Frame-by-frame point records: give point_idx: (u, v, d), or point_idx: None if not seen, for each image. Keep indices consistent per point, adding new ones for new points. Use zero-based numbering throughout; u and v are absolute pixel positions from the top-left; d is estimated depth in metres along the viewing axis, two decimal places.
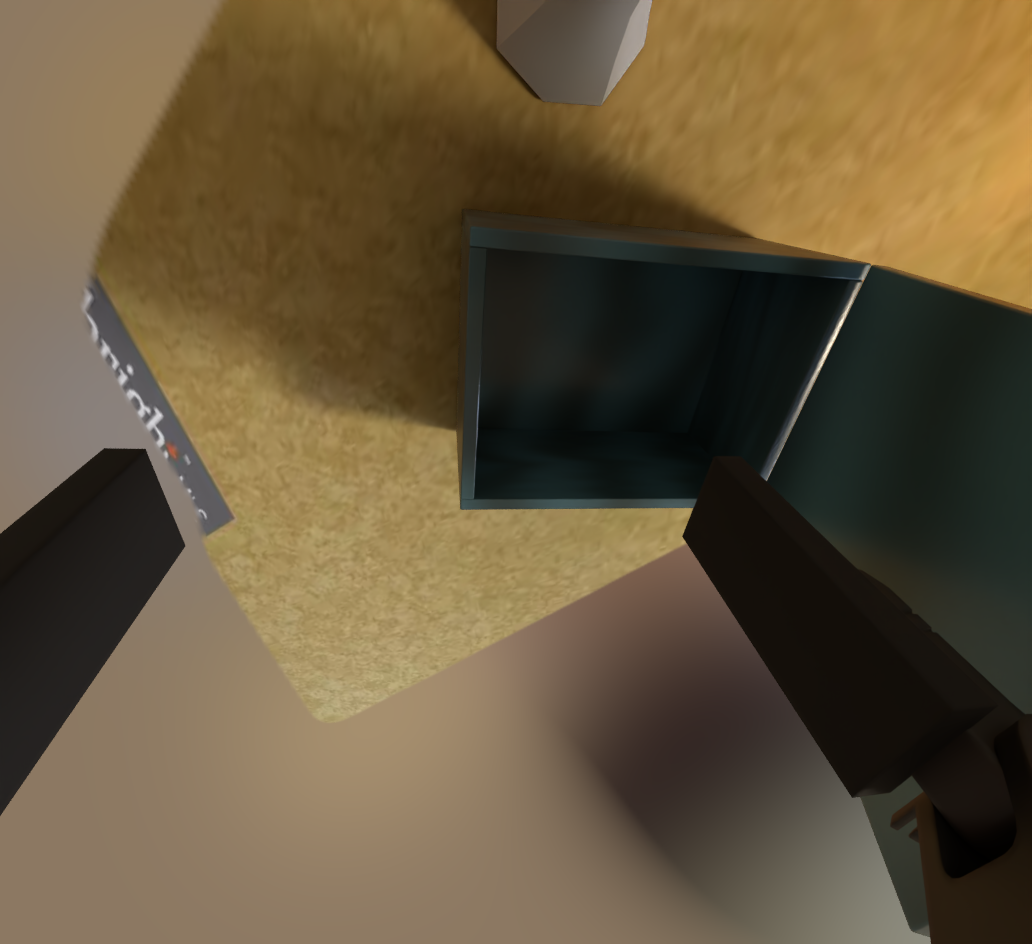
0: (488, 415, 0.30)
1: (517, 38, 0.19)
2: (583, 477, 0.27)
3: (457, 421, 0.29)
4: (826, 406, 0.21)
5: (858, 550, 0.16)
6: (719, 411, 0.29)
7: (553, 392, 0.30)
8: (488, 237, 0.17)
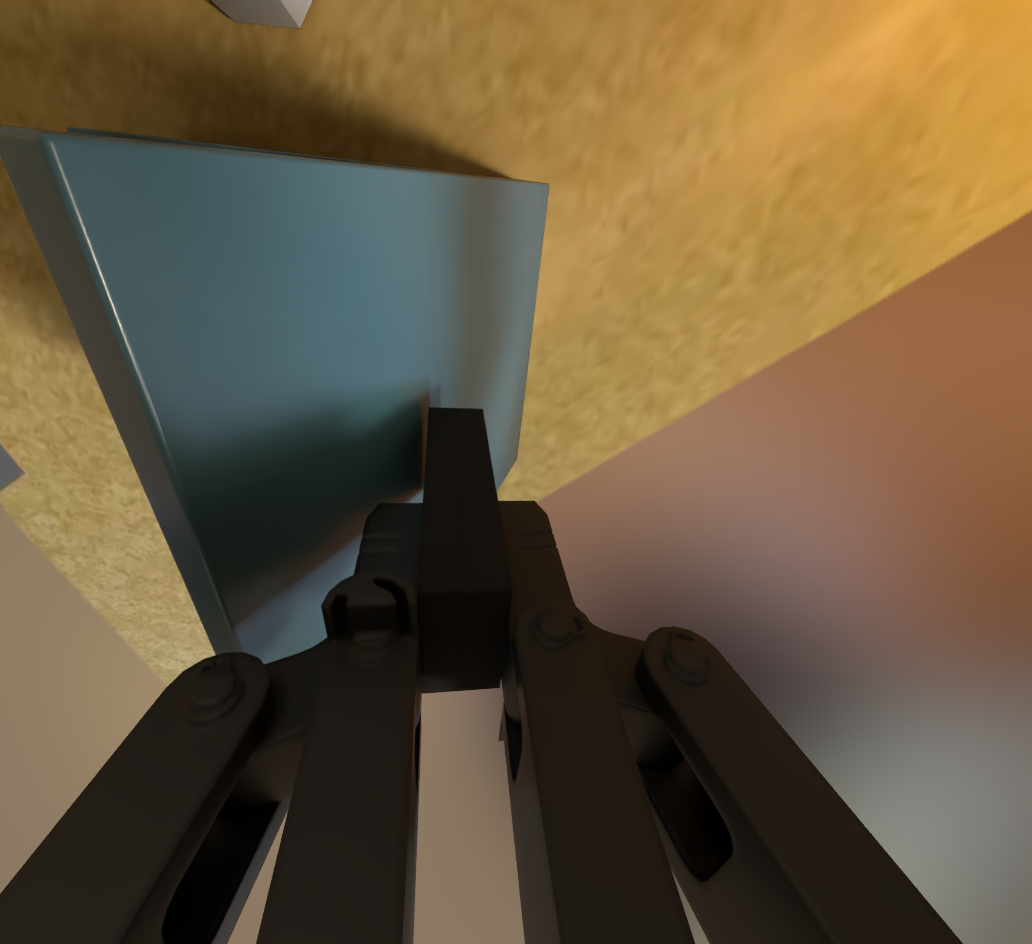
0: None
1: None
2: None
3: None
4: None
5: None
6: None
7: None
8: None
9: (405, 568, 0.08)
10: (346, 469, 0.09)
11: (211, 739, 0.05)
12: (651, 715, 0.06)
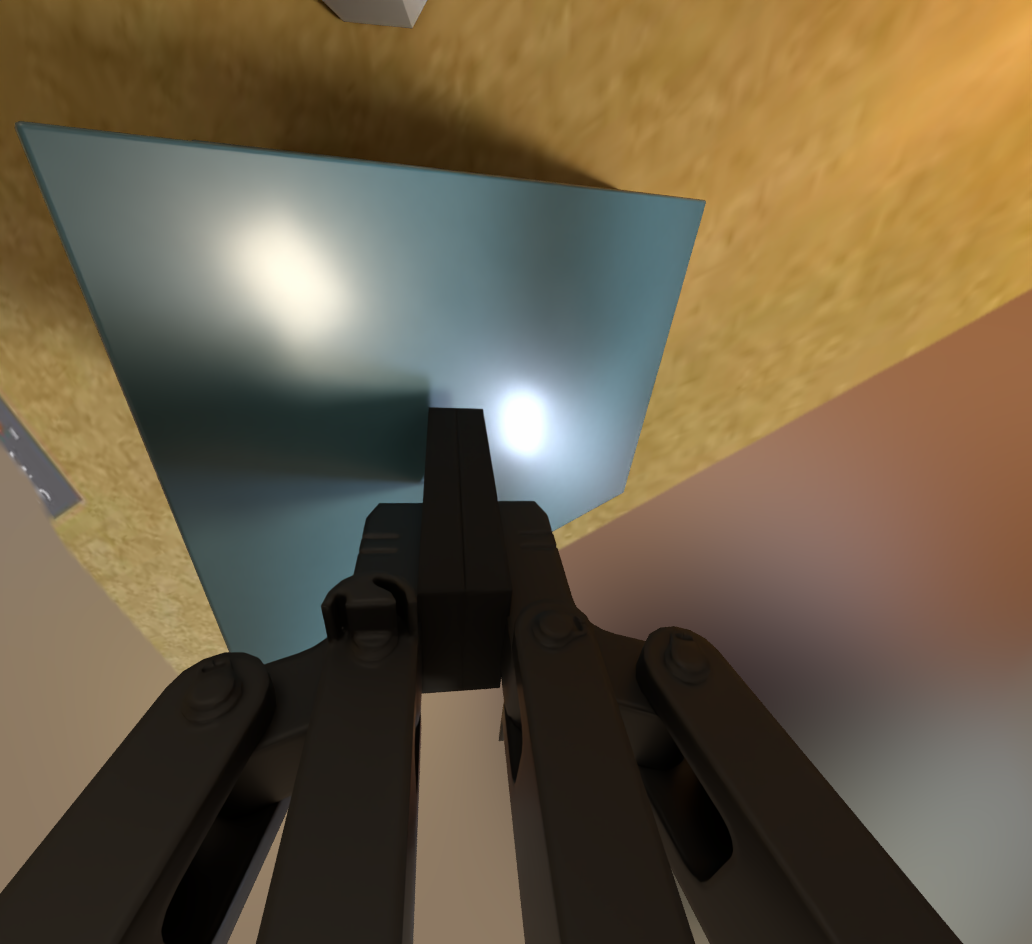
0: None
1: None
2: None
3: None
4: None
5: None
6: None
7: None
8: None
9: (405, 568, 0.08)
10: (323, 425, 0.11)
11: (211, 739, 0.05)
12: (651, 715, 0.06)
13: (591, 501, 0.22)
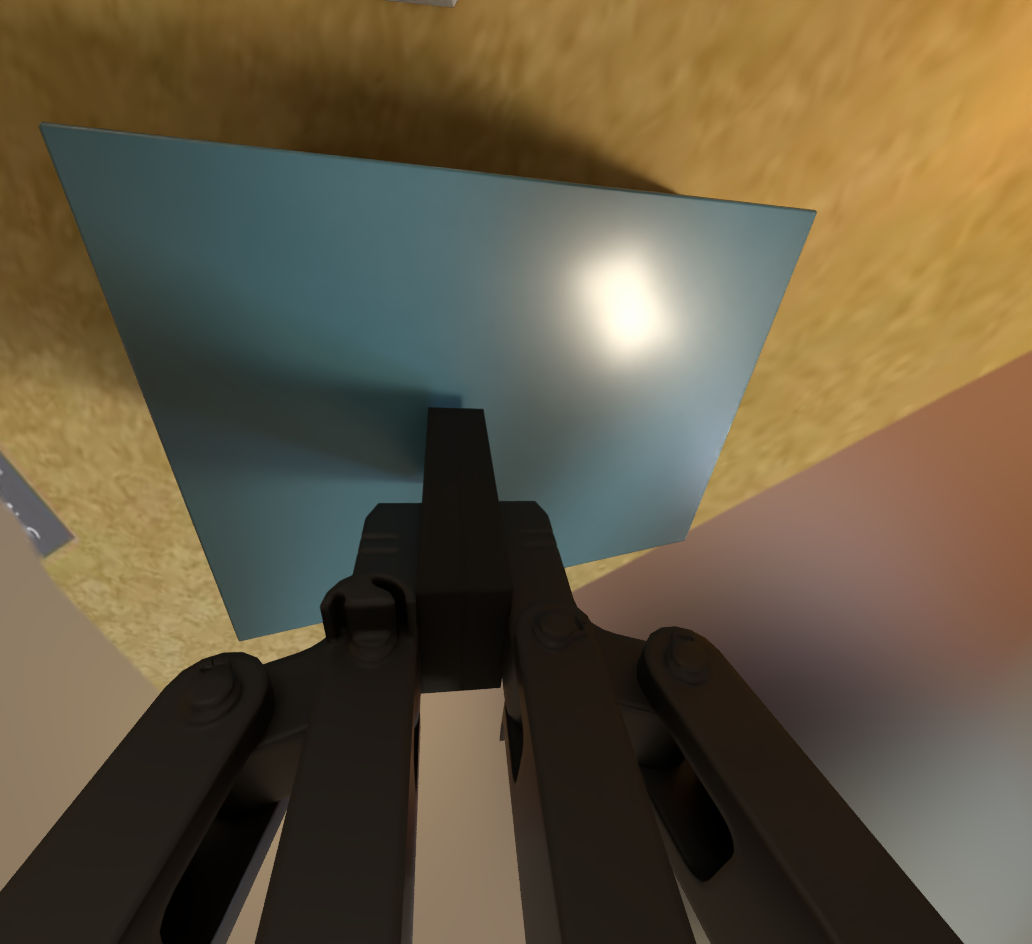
0: None
1: None
2: None
3: None
4: None
5: None
6: None
7: None
8: None
9: (404, 568, 0.08)
10: (309, 406, 0.11)
11: (209, 739, 0.05)
12: (652, 715, 0.06)
13: (637, 541, 0.20)
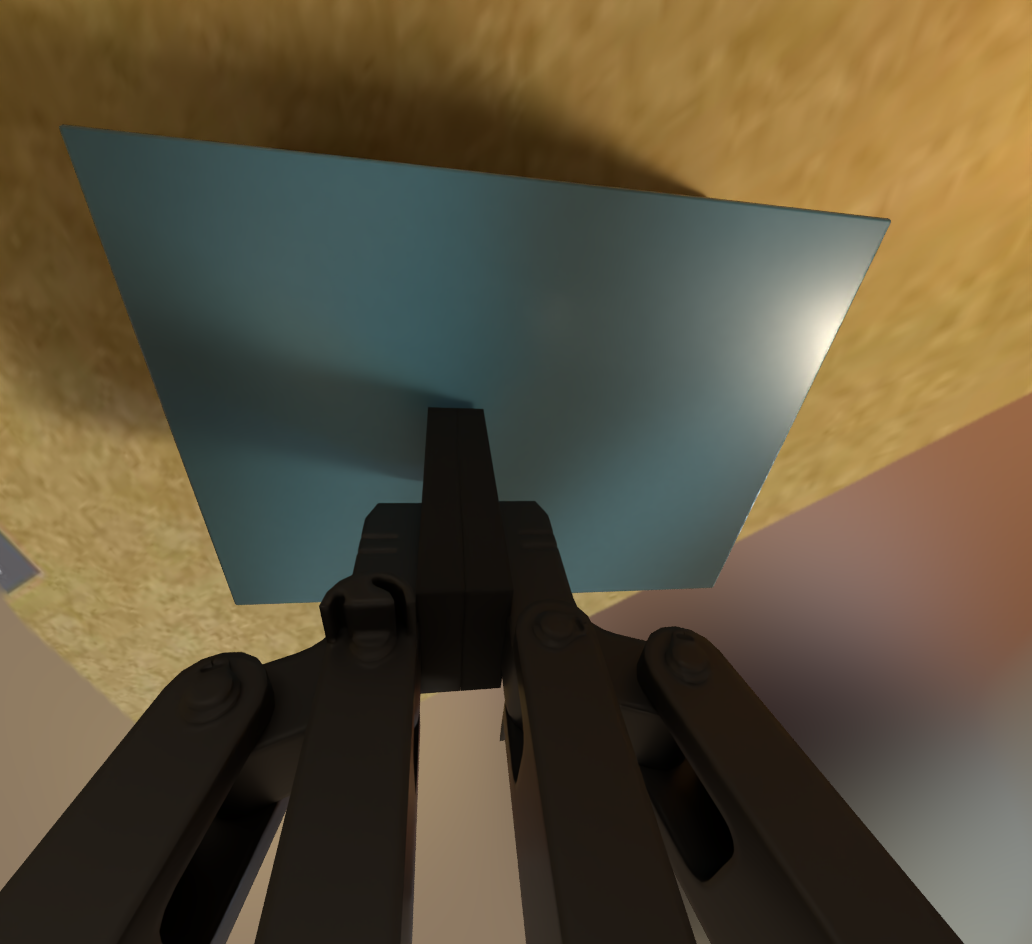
0: None
1: None
2: None
3: None
4: None
5: None
6: None
7: None
8: None
9: (404, 568, 0.08)
10: (294, 393, 0.12)
11: (209, 739, 0.05)
12: (652, 715, 0.06)
13: (651, 579, 0.18)
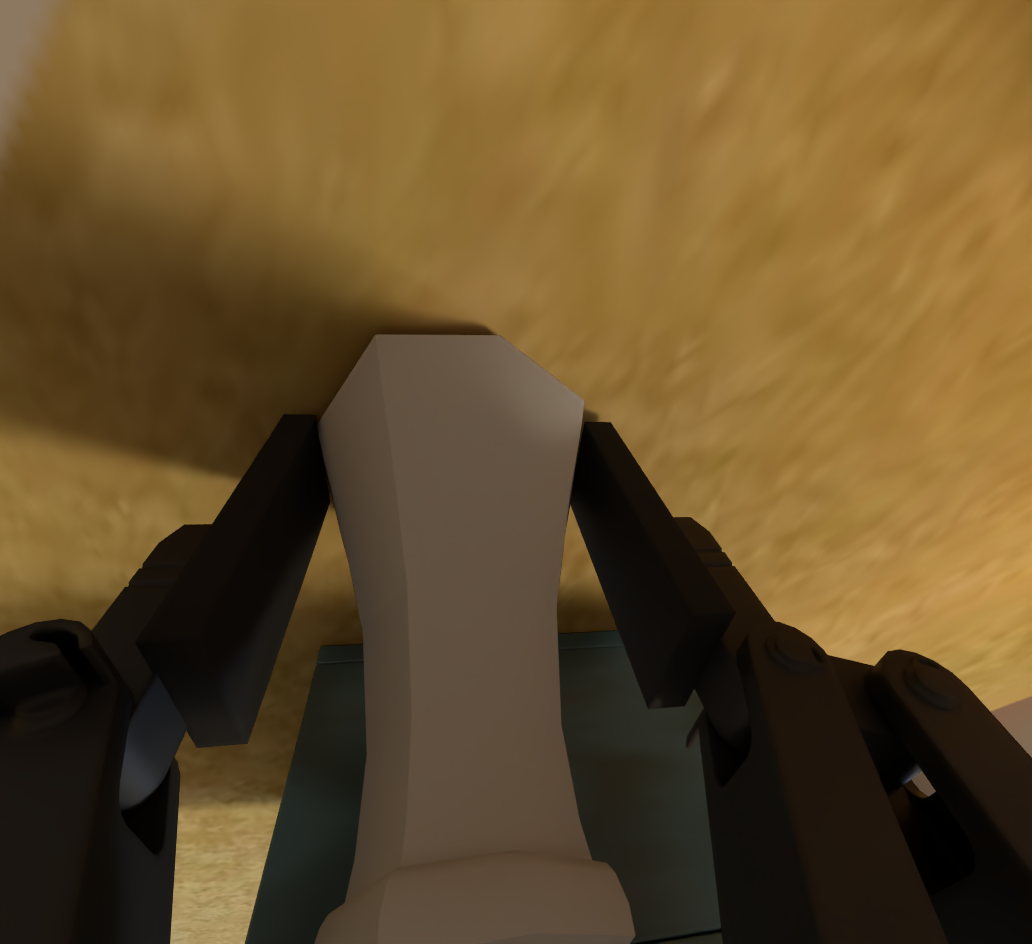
0: None
1: None
2: None
3: None
4: None
5: None
6: None
7: None
8: None
9: None
10: None
11: None
12: (902, 740, 0.06)
13: None
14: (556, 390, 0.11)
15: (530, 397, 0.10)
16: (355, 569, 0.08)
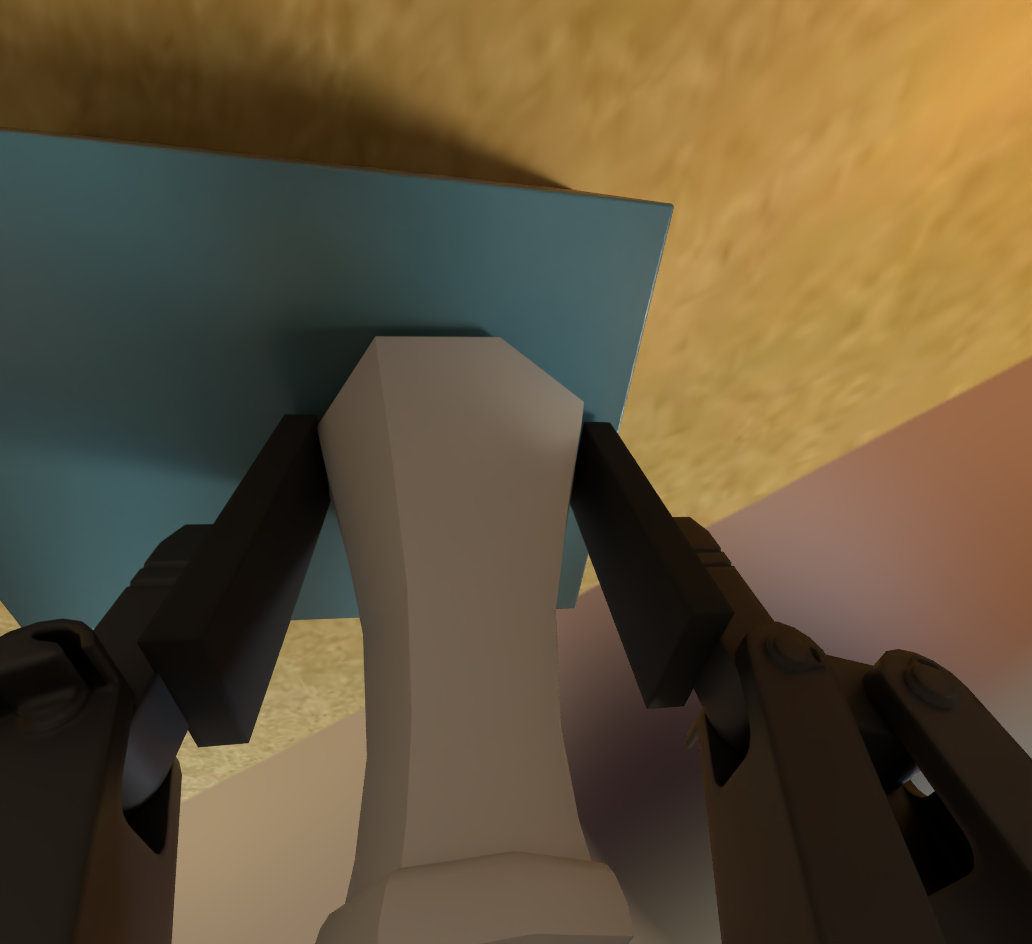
0: None
1: None
2: None
3: None
4: None
5: None
6: None
7: None
8: None
9: None
10: (12, 401, 0.10)
11: None
12: (901, 740, 0.06)
13: None
14: (556, 391, 0.11)
15: (530, 399, 0.10)
16: (356, 571, 0.08)
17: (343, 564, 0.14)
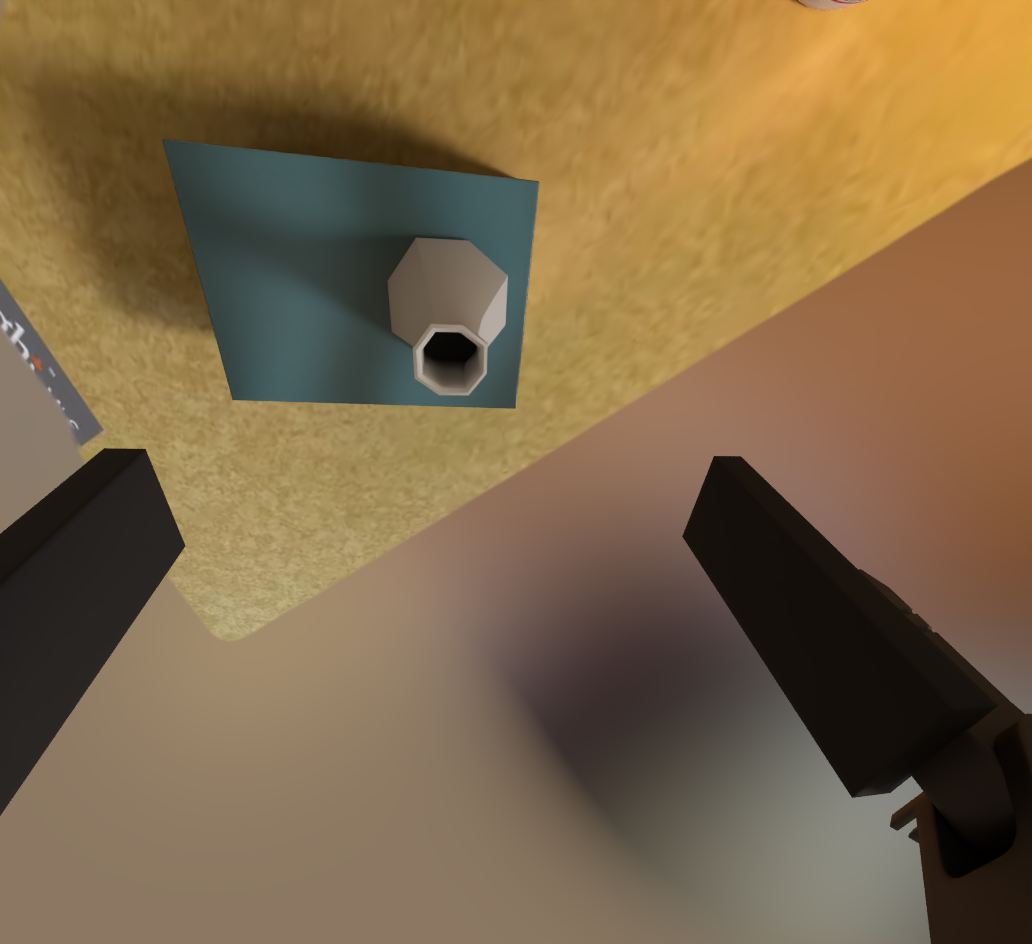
0: None
1: (402, 338, 0.26)
2: None
3: None
4: None
5: None
6: None
7: None
8: None
9: None
10: (260, 265, 0.25)
11: None
12: None
13: (474, 398, 0.31)
14: (494, 267, 0.26)
15: (480, 264, 0.24)
16: (412, 311, 0.22)
17: (392, 367, 0.29)
